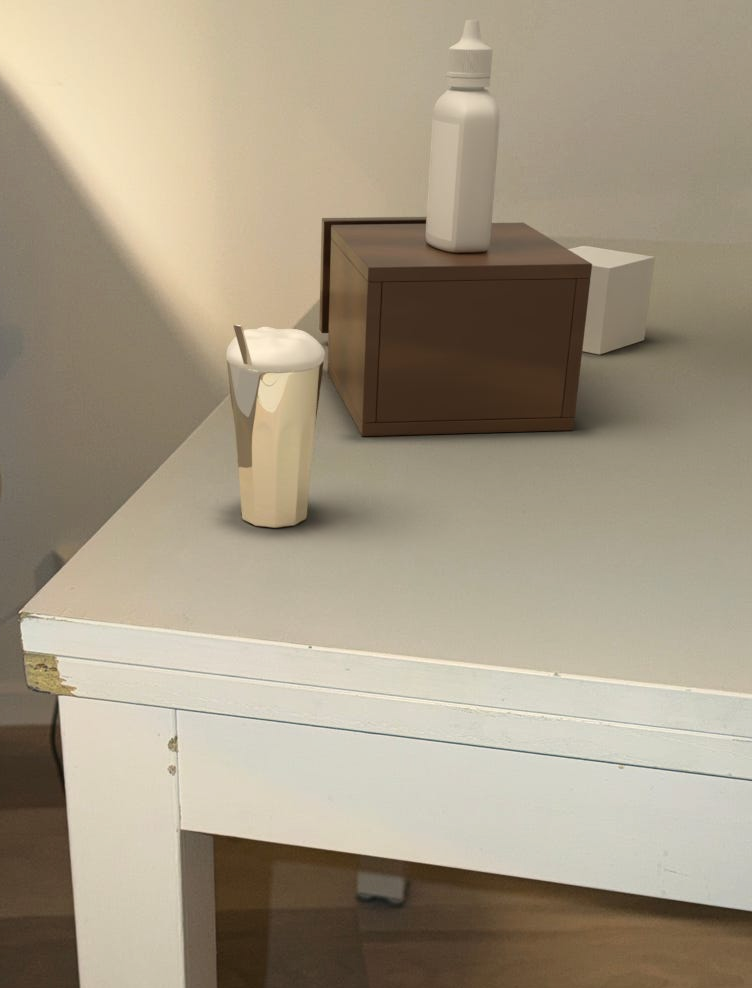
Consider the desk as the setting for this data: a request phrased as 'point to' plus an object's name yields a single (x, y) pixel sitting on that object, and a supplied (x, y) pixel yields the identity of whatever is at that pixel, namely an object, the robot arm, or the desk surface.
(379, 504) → the desk surface
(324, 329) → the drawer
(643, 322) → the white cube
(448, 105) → the eye dropper bottle
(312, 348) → the milkshake
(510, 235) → the cabinet
